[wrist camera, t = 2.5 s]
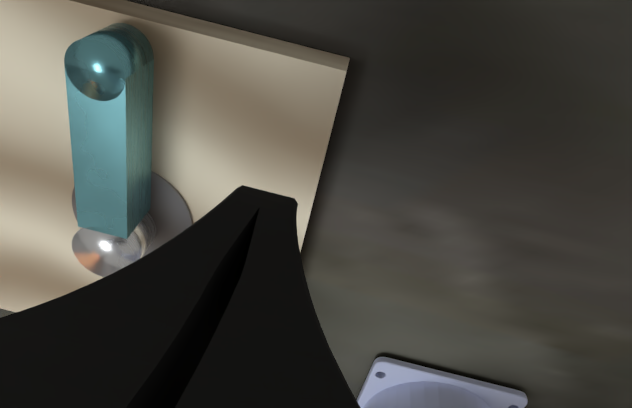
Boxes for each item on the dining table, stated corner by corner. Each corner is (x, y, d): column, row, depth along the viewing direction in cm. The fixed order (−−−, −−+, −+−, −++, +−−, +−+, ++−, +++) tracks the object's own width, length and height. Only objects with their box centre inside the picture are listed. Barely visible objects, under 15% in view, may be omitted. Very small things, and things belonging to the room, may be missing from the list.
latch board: (274, 351, 25) (268, 378, 24) (-57, 268, 25) (-84, 291, 24) (349, 57, 17) (346, 73, 15) (-160, -73, 16) (-211, -70, 15)
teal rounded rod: (156, 252, 20) (135, 285, 18) (100, 238, 20) (73, 269, 18) (163, 33, 15) (135, 50, 13) (88, 14, 15) (51, 28, 13)
